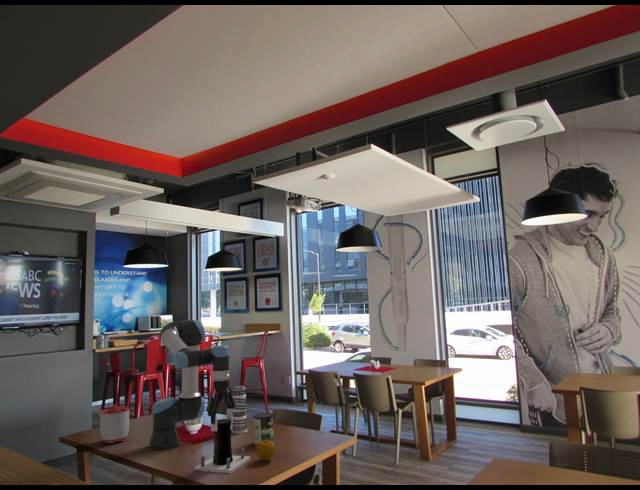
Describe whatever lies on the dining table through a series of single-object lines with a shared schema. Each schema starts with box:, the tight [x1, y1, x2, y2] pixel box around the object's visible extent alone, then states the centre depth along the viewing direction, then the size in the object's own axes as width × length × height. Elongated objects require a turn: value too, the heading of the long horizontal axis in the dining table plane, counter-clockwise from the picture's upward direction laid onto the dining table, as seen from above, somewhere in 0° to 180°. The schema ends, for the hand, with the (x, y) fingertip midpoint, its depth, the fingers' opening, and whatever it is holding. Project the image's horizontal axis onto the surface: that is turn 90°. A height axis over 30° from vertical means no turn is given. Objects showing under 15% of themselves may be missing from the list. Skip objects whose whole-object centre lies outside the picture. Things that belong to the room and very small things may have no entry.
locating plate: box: [194, 448, 251, 474], centre depth 212 cm, size 18×18×5 cm
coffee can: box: [252, 412, 275, 446], centre depth 243 cm, size 10×10×14 cm
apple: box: [255, 440, 276, 462], centre depth 215 cm, size 9×9×9 cm
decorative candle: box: [231, 385, 249, 434], centre depth 268 cm, size 9×9×25 cm
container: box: [212, 418, 234, 465], centre depth 212 cm, size 9×9×18 cm
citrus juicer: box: [98, 404, 130, 443], centre depth 261 cm, size 16×17×20 cm
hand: (222, 426), depth 213 cm, fingers open, 13 cm apart
